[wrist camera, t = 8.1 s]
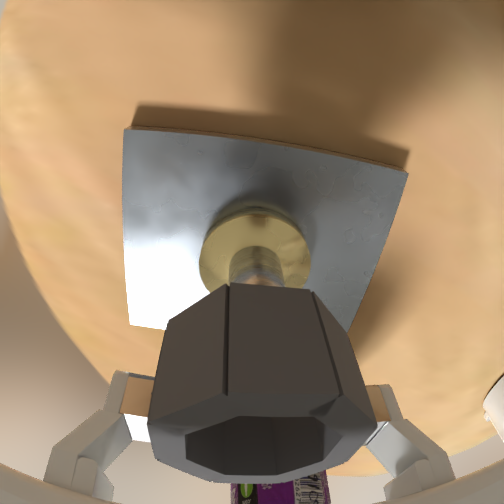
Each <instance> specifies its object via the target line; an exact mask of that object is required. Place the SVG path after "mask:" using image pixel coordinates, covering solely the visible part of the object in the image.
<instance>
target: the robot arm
mask: <svg viewBox="0 0 504 504" xmlns="http://www.w3.org/2000/svg"><path fill="white" fill-rule="evenodd" d="M154 380H155V377H152V376H146V375H140V374H134V373H130V372H124V371H118V370H116V371H115V373H114V374H113V377H112V381H111V384H110V387H109V391H108V394H107V398H106V401H105V405H104V408H103V410H98V411H96V412H95V413H94V414H93V415H92V416H90V417H89V418H88V419H87V420H85V421H84V422H83V423H82V424H81V425H79V426H78V427H77V428H76V429H74V430H73V431H72V432H71V433H69V434H68V435H67V436H66V437H65V438H63V439H62V440H61V441H60V442H58V443H57V444H56V445H55V446H53V448H52V452H51V455H50V458H49V462H48V465H47V469H46V472H45V476H44V480H43V481H42V480H39V479H37V478H34V477H31V476H29V475H26V474H24V473H21V472H19V471H17V470H15V469H12V468H10V467H8V466H6V465H4V464H1V463H0V504H120V503H116V502H112V498H113V491H114V486H113V485H112V483H111V482H110V481H109V479H108V478H107V477H106V475H105V474H104V473H103V472H104V471H105V470H106V469H107V468H108V467H109V466H110V465H111V464H112V462H113V461H114V460H115V459H116V458H117V457H118V456H119V455H120V454H121V453H122V452H123V450H124V449H126V447H127V446H128V445H129V444H130V443H131V442H132V440H138V441H146V442H151V441H150V437H149V433H148V429H147V425H146V423H147V417H148V412H149V406H150V401H151V396H152V390H153V385H154ZM365 387H366V390H367V393H368V396H369V399H370V402H371V405H372V408H373V411H374V414H375V418H376V421H377V424H378V426H377V427H378V428H377V429H376V430H375V432H374V433H373V434H372V435H371V436H370V437H369V438H368V439H367V441H366V442H365V443H364V444H363V445H362V446H365V445H367V446H366V447H367V448H368V449H369V450H370V452H371V453H372V454H373V455H374V456H375V457H376V458H377V460H378V461H379V462H380V463H381V464H382V465H383V466H384V467H385V469H386V470H387V471H388V472H389V473H390V474H391V475H392V476H393V478H394V479H393V480H392V481H390V482H389V483H387V484H386V485H385V486H384V492H385V496H386V501H383V502H379V503H374V504H504V459H502V460H499V461H497V462H496V463H493V464H491V465H489V466H487V467H484V468H482V469H480V470H478V471H475V472H473V473H470V474H468V475H465V476H463V477H460V478H458V479H456V478H455V476H454V473H453V470H452V467H451V464H450V461H449V459H448V456H447V453H446V452H445V451H444V450H443V449H442V448H440V447H439V446H438V445H437V444H436V443H435V442H433V441H432V440H431V439H430V438H429V437H427V436H426V435H425V434H424V433H423V432H421V431H420V430H419V429H418V428H417V427H416V426H414V425H413V424H412V423H411V422H410V421H409V420H407V419H403V416H402V414H401V411H400V408H399V406H398V403H397V401H396V398H395V395H394V393H393V390H392V388H391V386H390V385H389V384H384V385H366V386H365ZM483 408H484V409H485V411H486V412H485V414H484V418H485V420H486V421H490V420H491V422H492V423H493V425H494V427H495V428H496V430H497V432H498V433H499V435H500V437H501V439H502V440H503V442H504V376H503V377H502V378H501V379H500V380H499V381H498V383H497V384H496V385H495V386H494V387H493V388H492V390H491V391H490V392H489V394H488V395H487V397H486V398H485V400H484V403H483Z"/></svg>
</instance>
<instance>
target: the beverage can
mask: <svg viewBox="0 0 504 504" xmlns="http://www.w3.org/2000/svg"><path fill="white" fill-rule="evenodd" d="M330 503H331V500H330V494H329V488H328V481H327V475H326V470H324V471H321V472H318V473H315V474H312V475H308V476H305V477H302V478H299V479H295V480H292V481H288V482H285V483H283V482H281V483H273V484H239V483H231V504H330Z"/></svg>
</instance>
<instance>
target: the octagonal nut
mask: <svg viewBox="0 0 504 504" xmlns="http://www.w3.org/2000/svg"><path fill="white" fill-rule="evenodd" d="M146 425H147V429H148V433H149V437H150V441H151V445H152V449H153V453H154V456H155V459H157V460H158V461H160V462H162V463H164V464H167V465H169V466H171V467H174V468H176V469H178V470H181V471H183V472H185V473H188V474H191V475H193V476H196V477H198V478H201V479H204V480H207V481H209V482H211V481H213V482H217V483H239V484H273V483H281V482H283V483H285V482H288V481H292V480H295V479H299V478H302V477H305V476H308V475H312V474H315V473H318V472H321V471H324V470H327V469H329V468H332V467H335V466H338V465H340V464H343V463H344V462H347V461H348V460H349V459H350V458H351V457H352V456H353V455H354V454H355V453H356V452H357V450H358V449H359V448H360V447H361V446H362V445H363V444H364V443H365V442H366V441H367V439H368V438H369V437H370V436H371V435H372V434H373V433H374V432H375V430H376V429H377V428H378V427H377V426H378V424H377V421H376V418H375V414H374V411H373V408H372V405H371V402H370V399H369V396H368V393H367V390H366V387H365V384H364V381H363V378H362V375H361V372H360V369H359V366H358V363H357V360H356V358H355V355H354V352H353V349H352V346H351V343H350V341H349V338H348V335H347V333H346V331H345V330H344V329H343V327H342V326H341V325H340V324H339V322H338V321H337V320H336V319H335V317H334V316H333V315H332V314H331V312H330V311H329V310H328V309H327V307H326V306H325V305H324V304H323V302H322V301H321V300H320V299H319V297H318V296H317V295H316V294H315V292H314V291H312V292H311V291H310V289H301V288H289V287H277V286H266V285H255V284H244V283H234V282H230V287H229V286H228V285H227V284H226V283H225V284H224V285H222V286H220V287H219V288H217V289H216V290H214V291H213V292H211V293H210V294H208V295H206V296H205V297H203V298H202V299H200V300H199V301H197V302H196V303H194V304H192V305H191V306H189V307H188V308H186V309H185V310H183V311H181V312H180V313H178V314H177V315H175V316H174V317H172V318H171V319H169V320H168V322H167V325H166V329H165V333H164V338H163V342H162V347H161V351H160V356H159V361H158V366H157V370H156V375H155V380H154V385H153V390H152V396H151V401H150V406H149V412H148V417H147V423H146Z"/></svg>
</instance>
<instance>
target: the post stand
mask: <svg viewBox="0 0 504 504" xmlns="http://www.w3.org/2000/svg"><path fill="white" fill-rule="evenodd" d="M408 174H409V173H407V172H406V171H404V170H403V169H402V168H400V167H396V166H392V165H388V164H385V163H381V162H377V161H373V160H368V159H364V158H360V157H356V156H351V155H347V154H342V153H337V152H333V151H328V150H323V149H318V148H313V147H308V146H302V145H297V144H291V143H285V142H279V141H273V140H267V139H260V138H254V137H246V136H239V135H231V134H223V133H215V132H206V131H196V130H185V129H174V128H160V127H144V126H129V127H127V128H126V129H124V137H123V168H122V207H123V239H124V258H125V273H126V285H127V296H128V306H129V316H130V324H133V325H139V326H146V327H153V328H160V329H166V325H167V322H168V320H169V319H171V318H172V317H174V316H175V315H177V314H178V313H180V312H181V311H183V310H185V309H186V308H188V307H189V306H191V305H192V304H194V303H196V302H197V301H199V300H200V299H202V298H203V297H205V296H206V295H208V294H210V293H211V292H213V291H214V290H216V289H217V288H219V287H220V286H222V285H224V284H225V283H226V284H227V285H228V286H229V287H230V282H234V283H244V284H255V285H266V286H277V287H289V288H301V289H310V291H311V292H312V291H314V292H315V294H316V295H317V296H318V297H319V299H320V300H321V301H322V302H323V304H324V305H325V306H326V307H327V309H328V310H329V311H330V312H331V314H332V315H333V316H334V317H335V319H336V320H337V321H338V322H339V324H340V325H341V326H342V327H343V329H344V330H345V331H346V333H347V332H348V330H349V328H350V326H351V324H352V322H353V319H354V317H355V315H356V313H357V311H358V308H359V306H360V304H361V301H362V299H363V297H364V294H365V292H366V290H367V287H368V285H369V283H370V280H371V278H372V275H373V273H374V270H375V268H376V265H377V263H378V260H379V258H380V255H381V253H382V250H383V247H384V245H385V242H386V239H387V237H388V234H389V231H390V228H391V225H392V223H393V220H394V217H395V214H396V211H397V208H398V205H399V202H400V199H401V196H402V193H403V190H404V187H405V184H406V181H407V177H408Z"/></svg>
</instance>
